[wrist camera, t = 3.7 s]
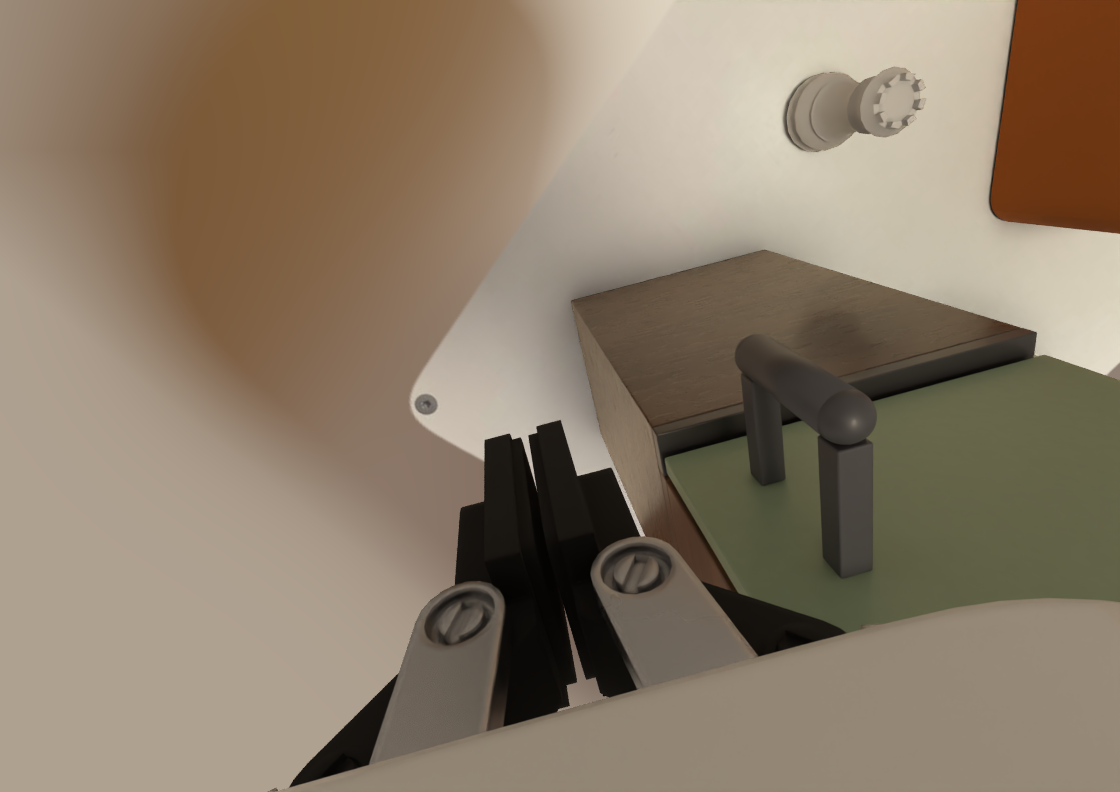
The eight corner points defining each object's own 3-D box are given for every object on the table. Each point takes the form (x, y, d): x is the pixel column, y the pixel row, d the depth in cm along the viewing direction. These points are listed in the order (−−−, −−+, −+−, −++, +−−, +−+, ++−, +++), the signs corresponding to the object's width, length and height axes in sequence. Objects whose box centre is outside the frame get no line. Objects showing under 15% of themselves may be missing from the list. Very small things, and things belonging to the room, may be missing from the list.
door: (641, 332, 17) (811, 513, 8) (1063, 220, 18) (1664, 277, 9) (666, 473, 19) (823, 739, 10) (1042, 371, 20) (1504, 543, 11)
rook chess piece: (857, 129, 36) (951, 121, 29) (794, 165, 36) (873, 165, 29) (838, 59, 34) (934, 31, 27) (773, 97, 35) (850, 79, 27)
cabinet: (570, 300, 38) (827, 703, 10) (765, 249, 38) (1567, 492, 10) (601, 435, 42) (840, 986, 14) (775, 388, 43) (1355, 832, 14)
